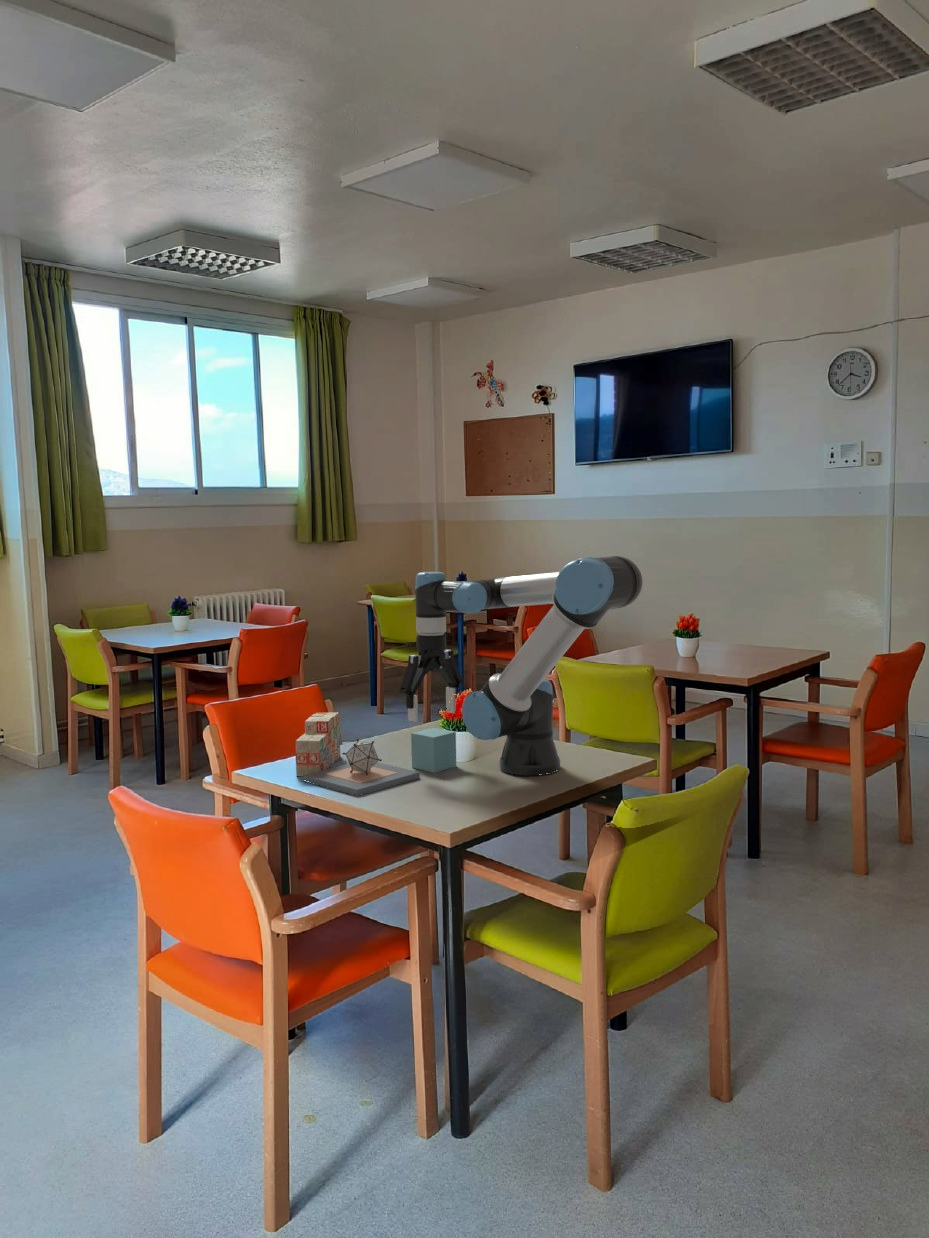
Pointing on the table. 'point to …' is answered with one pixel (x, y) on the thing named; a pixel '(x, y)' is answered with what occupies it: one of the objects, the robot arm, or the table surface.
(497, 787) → the table surface
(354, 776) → the baseplate
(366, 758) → the grey icosahedron
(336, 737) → the stack of blocks
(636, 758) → the table surface
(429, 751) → the teal block
